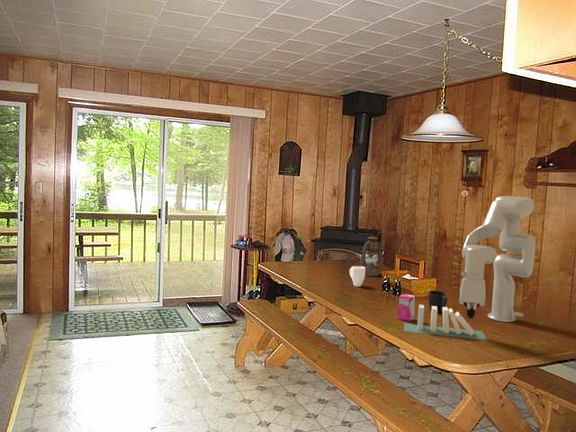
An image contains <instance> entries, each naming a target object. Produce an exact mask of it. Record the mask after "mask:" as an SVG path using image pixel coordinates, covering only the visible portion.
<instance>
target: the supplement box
mask: <svg viewBox="0 0 576 432" xmlns="http://www.w3.org/2000/svg"><path fill="white" fill-rule="evenodd" d="M415 304H416V296H415V295H412V294H411V295H410V294H407V293H404V294H401V295H398V306H397V307H398V308H397V309H398V311H397V320H400V321H405V322H407V323H408V322H412V321H414V320H415Z"/></svg>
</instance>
